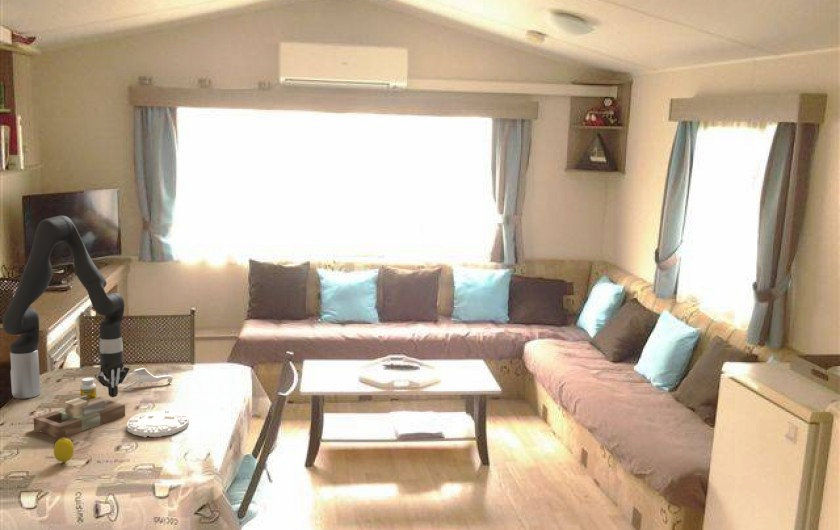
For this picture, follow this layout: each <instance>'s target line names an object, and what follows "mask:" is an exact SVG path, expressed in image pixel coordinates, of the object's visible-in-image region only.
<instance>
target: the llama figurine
mask: <svg viewBox="0 0 840 530" xmlns="http://www.w3.org/2000/svg"><path fill="white" fill-rule="evenodd" d="M131 376H137V379H136V380H135V381H133V382H130V383H128V384H125V385H123V386H122V389H123V388H125V389H126V388H128V387H131V386H133V385H136V384H143V383H152V382H159V381H162V380H167V382H168V384H169V383H171V384H172V382H173V376H172V375H171V374H166V375H165V374H164V375H158V376H156V375H153V374H152V373H150V372H149V370H147V369H146V368H145V367H141V368H137V369H133V371H132V372H128V373H127V375H126V377H125V378H124V380H123V382H122V383H125V382H126V381H127V380H128V379H129V378H130V377H131ZM122 383H120V384H122Z"/></svg>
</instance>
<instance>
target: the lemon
mask: <svg viewBox="0 0 840 530" xmlns="http://www.w3.org/2000/svg"><path fill="white" fill-rule="evenodd" d="M74 453H75V447H74V443H73V442H72V441H71V439H69V438H66V437H63V438H61V439H59V438H58V440H56V442H55V443H54V446H53V455H54V458H55V459H56V460H57V461H58V462H61V463H63V464H65V463H67V461H69V460H70V459H72V458H73V456H74Z"/></svg>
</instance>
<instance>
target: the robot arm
mask: <svg viewBox="0 0 840 530" xmlns="http://www.w3.org/2000/svg"><path fill="white" fill-rule="evenodd" d="M61 243H64V244H65V245H66V247H68V248H69V250H70V252H71V255H72V259H73V267H74V272H75V274H76V277H77V279H78V280H79V282H80V283H81V284H82V286H83V287H84V288H85V290H86V291H87V295H88V297H89V300H90V303H91V305H92V309H94V311H95V312H96V313H97V314H99V315H100V316H104V319H103V320H102V321H101V322H100V323H99V360H100V361H99V363H100V365H101V367H100V371H99V373H98V374H95V375H94V378H95V379H96V380H97V381H98V382H99V383H100V384H101V386H103V387H106V388H107V391H108V392H107V393H108V396H109V397H111V398H115V397H118V394H119V391H118V390H119V388H118V386H119V385H120V384H121V383H122V382H123V380H124V378H126V377H127V376H128V374H129V371H130V367H127V366H124V363H123V361H124V351H123V350H124V347H123V346H124V344H123V337H122V321H123V319H124V318H123V317H124V313H125V301H124V297H123V296H122V295H121V294H120V293H119V292H110V293H107V292H106V290H105V288H106V286H107V281H106V280H107V279H105V277H104V276H103V275H102V274H103V273H101V272H100V270H99V269H98V267H97V265H95V263H94V262H93V261H94V260H92V258H91V256H90V254H89V252H88V250H87V248H86V245H85V243H84V241H83V239H82V237H81V236H80V233H79V231H78V229H77V226H76V225H75V224H74V222H73V221H72V219H71V218H69V217H68V216H66V215H57V216H51V217H48V218H45V219H43V220H41V221H40V222H39V223H38V225H37V227H36V230H35V234H34V238H33V242H32V247H31V250H30V253H29V255H28V259H27V262H26V264H25V267H24V269H23V271H22V275H21V277H20V279H19V280H20V281H19V283H18V286H17V287H16V291H15V293H14V295H13V297H12V300H11V301H10V302H9V304H8V307H7V308H6V310H5V312H4V315H3V316H2V329H3V331H4V332H5V333H6V334H8V335H9V336H15V335H19V336H18V337H17V339H15V340H14V341H12V342H11V343H10V345H9V355H10V371H9V372H10V385H11V395H12V397H13V398H15V399H31V398H34V397H37V396H39V395H41V381H40V380H41V379H40V362H39V360H40V358H39V343H40V318H39V314H38V312H37V310H36V309H35V308H34V307H32V306H31V305H33V304H34V302H36V301H37V300H38V299H39V298H40V297H41V296H42V295H43V294H44V293H45V292H46V291H47V289H48V287H49V284H50V283H51V280H52V278H53V273H54V270H53V267H52V266H53V265H52V263H51V260H50V258H51V255H52V252H53V249H54V248H55V246H56V245H57V244H61ZM123 383H124V382H123Z"/></svg>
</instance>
